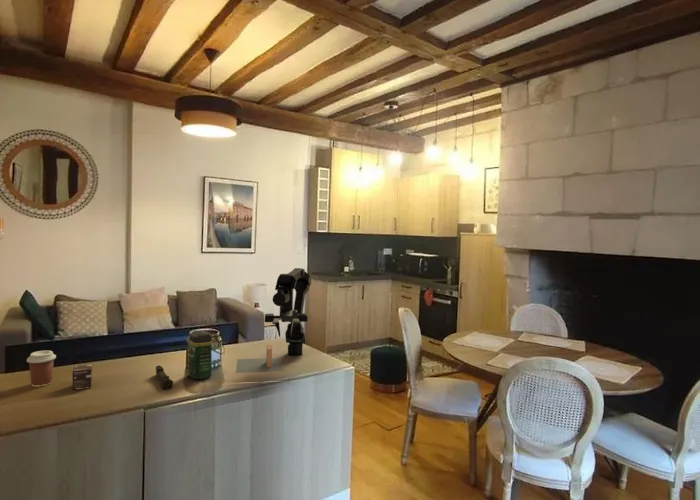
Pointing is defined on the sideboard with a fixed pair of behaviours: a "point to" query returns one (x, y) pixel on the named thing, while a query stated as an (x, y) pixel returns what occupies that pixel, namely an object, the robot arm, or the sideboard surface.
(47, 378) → the coffee cup
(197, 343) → the coffee jar
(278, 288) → the robot arm
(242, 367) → the mat
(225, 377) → the sideboard surface
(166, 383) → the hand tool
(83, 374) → the box
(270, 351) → the tile
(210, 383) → the sideboard surface
